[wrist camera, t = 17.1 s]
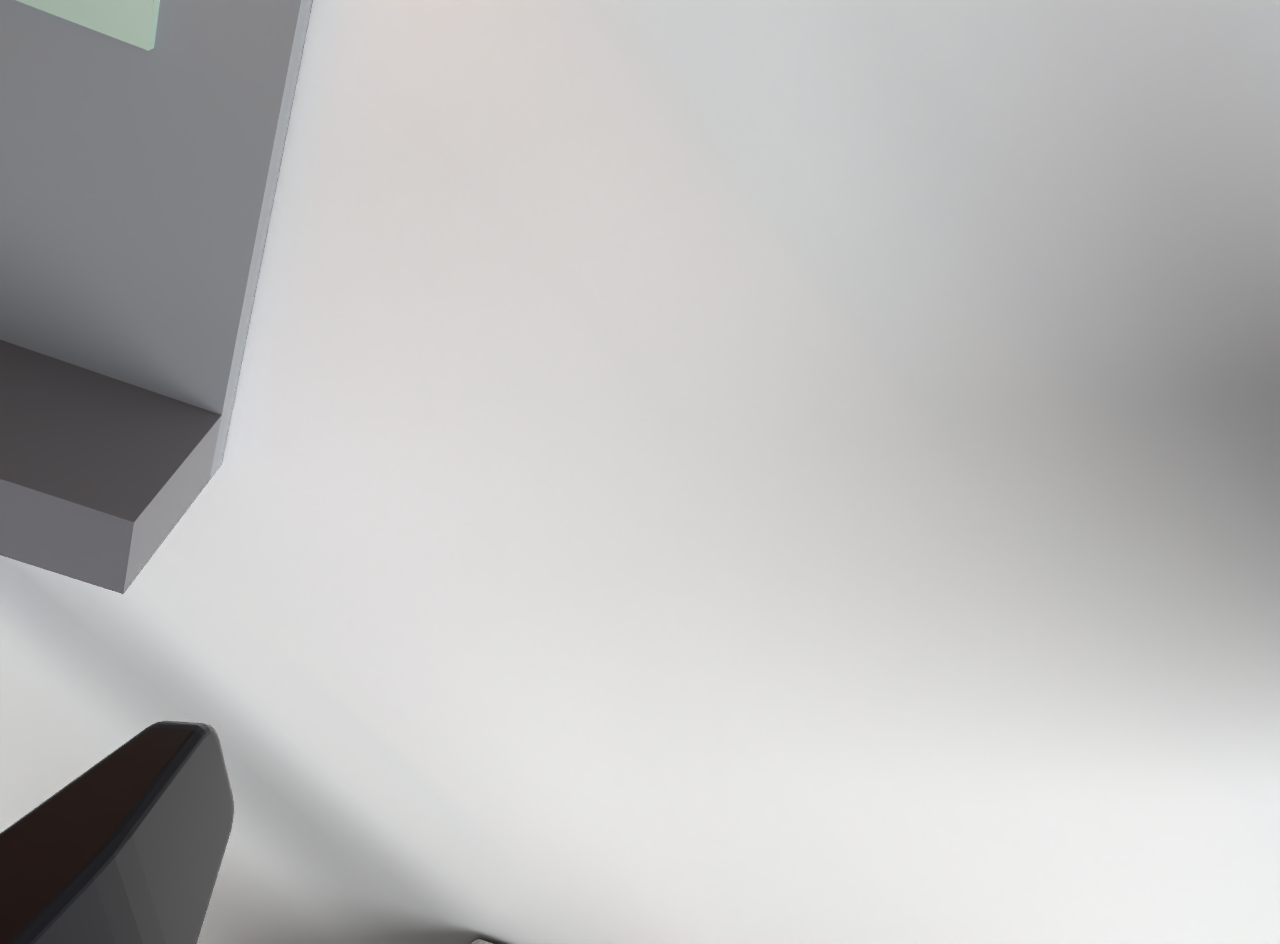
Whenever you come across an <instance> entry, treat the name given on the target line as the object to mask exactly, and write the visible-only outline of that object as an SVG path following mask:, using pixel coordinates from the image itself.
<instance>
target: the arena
mask: <svg viewBox="0 0 1280 944" xmlns="http://www.w3.org/2000/svg"><path fill="white" fill-rule="evenodd" d="M312 2H313V0H0V555H2V556H5V557H8V558H12V559H15V560H18V561H21V562H24V563H27V564H30V565H34V566H37V567H40V568H43V569H46V570H49V571H53V572H56V573H59V574H62V575H65V576H68V577H71V578H75V579H78V580H81V581H84V582H87V583H90V584H93V585H97V586H100V587H103V588H106V589H109V590H112V591H115V592H119V593H122V594H124V592H125V591H126V590H127V588H128V587H129V586H130V584H131V583H132V582H133V580H134V579H135V578H136V576H137V575H138V574H139V573H140V571H141V570H142V569H143V567H144V566H145V565H146V563H147V562H148V561H149V559H150V558H151V557H152V555H153V554H154V553H155V551H156V550H157V549H158V547H159V546H160V545H161V544H162V542H163V541H164V540H165V538H166V537H167V536H168V534H169V533H170V532H171V530H172V529H173V528H174V526H175V525H176V524H177V522H178V521H179V520H180V518H181V517H182V516H183V515H184V513H185V512H186V511H187V509H188V508H189V507H190V505H191V504H192V503H193V501H194V500H195V499H196V497H197V496H198V495H199V493H200V492H201V491H202V489H203V488H204V487H205V486H206V484H207V483H208V482H209V480H210V479H211V478H212V476H213V475H214V474H215V472H216V471H217V470H218V468H219V467H220V466H221V464H222V460H223V455H224V450H225V445H226V440H227V435H228V430H229V425H230V419H231V414H232V409H233V404H234V399H235V394H236V389H237V384H238V379H239V374H240V369H241V363H242V358H243V353H244V348H245V343H246V338H247V333H248V328H249V323H250V318H251V312H252V307H253V302H254V297H255V292H256V287H257V282H258V277H259V272H260V267H261V262H262V256H263V251H264V246H265V241H266V236H267V231H268V226H269V221H270V216H271V211H272V206H273V200H274V195H275V190H276V185H277V180H278V175H279V170H280V165H281V160H282V155H283V149H284V144H285V139H286V134H287V129H288V124H289V119H290V114H291V109H292V104H293V99H294V93H295V88H296V83H297V78H298V73H299V68H300V63H301V58H302V53H303V48H304V43H305V37H306V32H307V27H308V22H309V17H310V12H311V7H312Z"/></svg>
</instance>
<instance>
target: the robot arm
mask: <svg viewBox="0 0 1280 944" xmlns="http://www.w3.org/2000/svg"><path fill="white" fill-rule="evenodd" d="M233 814H234V802H233V796H232V791H231V787H230V783H229V779H228V775H227V770H226V766H225V762H224V758H223V754H222V749H221V745H220V741H219V738H218V735H217V733H216V731H215V730H214V729H213V728H212V727H211V726H210V725H206V724H204V723H189V722H173V721H162V722H157V723H155V724H153V725H151V726H149V727H148V728H146V729H145V730H143V731H142V732H140V733H139V734H138V735H136V736H135V737H133V738H132V739H131V740H129V741H128V742H127V743H125V744H124V745H122V746H121V747H120V748H118V749H117V750H115V751H114V752H113V753H111V754H110V755H108V756H107V757H106V758H104V759H103V760H102V761H100V762H99V763H97V764H96V765H95V766H93V767H92V768H90V769H89V770H88V771H86V772H85V773H83V774H82V775H81V776H79V777H78V778H77V779H75V780H74V781H72V782H71V783H70V784H68V785H67V786H65V787H64V788H63V789H61V790H60V791H59V792H57V793H56V794H54V795H53V796H52V797H50V798H49V799H47V800H46V801H45V802H43V803H42V804H40V805H39V806H38V807H36V808H35V809H34V810H32V811H31V812H29V813H28V814H27V815H25V816H24V817H22V818H21V819H20V820H18V821H17V822H15V823H14V824H13V825H11V826H10V827H9V828H7V829H6V830H4V831H3V832H2V833H0V944H196V943H197V940H198V937H199V934H200V930H201V927H202V924H203V921H204V917H205V914H206V911H207V907H208V904H209V901H210V898H211V894H212V891H213V888H214V885H215V881H216V878H217V875H218V872H219V868H220V865H221V862H222V858H223V855H224V852H225V849H226V845H227V842H228V839H229V836H230V832H231V828H232V823H233Z"/></svg>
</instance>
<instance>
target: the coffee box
mask: <svg viewBox="0 0 1280 944" xmlns="http://www.w3.org/2000/svg"><path fill="white" fill-rule="evenodd" d="M472 944H493V943H490V942H487V941H484V940H481V939H477V940H474V941H473V942H472Z"/></svg>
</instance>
